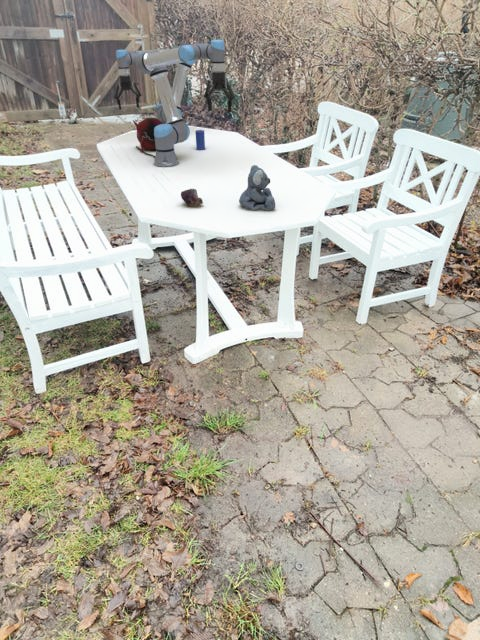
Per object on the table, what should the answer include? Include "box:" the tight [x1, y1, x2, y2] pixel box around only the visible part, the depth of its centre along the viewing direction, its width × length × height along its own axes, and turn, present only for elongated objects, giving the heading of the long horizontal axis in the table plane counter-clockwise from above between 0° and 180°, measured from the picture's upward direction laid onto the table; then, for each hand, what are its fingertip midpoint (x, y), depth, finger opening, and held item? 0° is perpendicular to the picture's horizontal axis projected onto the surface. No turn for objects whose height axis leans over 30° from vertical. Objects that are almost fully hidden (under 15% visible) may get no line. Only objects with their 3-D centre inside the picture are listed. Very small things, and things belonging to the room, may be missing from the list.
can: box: [195, 129, 206, 151], centre depth 322 cm, size 6×6×12 cm
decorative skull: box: [132, 117, 164, 153], centre depth 323 cm, size 21×24×25 cm
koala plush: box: [238, 164, 276, 211], centre depth 224 cm, size 17×18×20 cm
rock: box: [180, 188, 204, 207], centre depth 229 cm, size 12×9×10 cm
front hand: (219, 111), depth 269 cm, fingers open, 13 cm apart
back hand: (129, 108), depth 327 cm, fingers open, 13 cm apart
